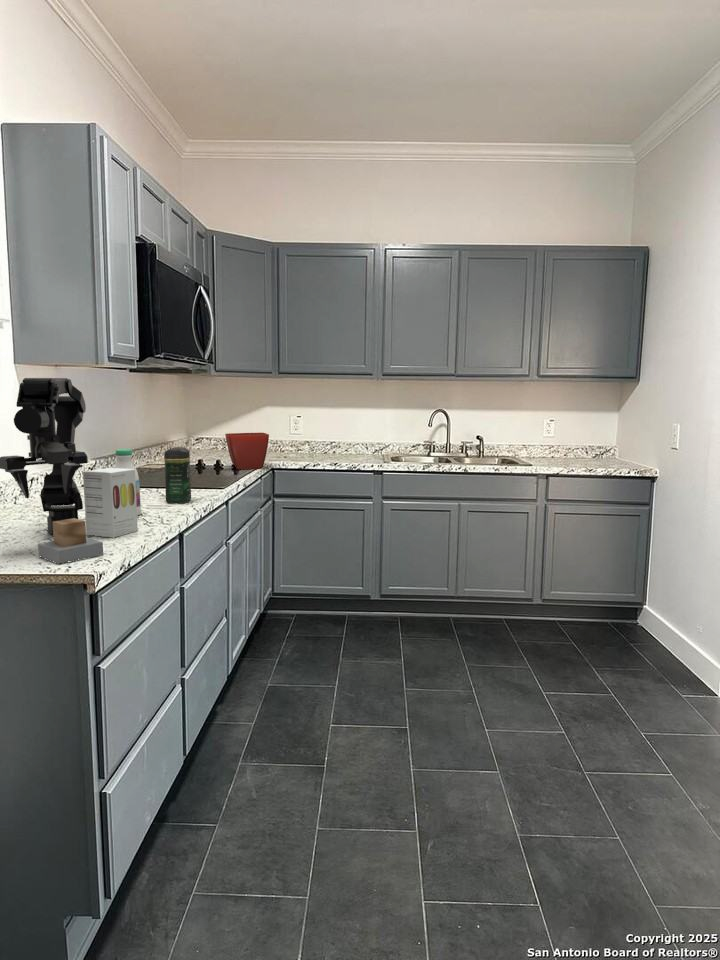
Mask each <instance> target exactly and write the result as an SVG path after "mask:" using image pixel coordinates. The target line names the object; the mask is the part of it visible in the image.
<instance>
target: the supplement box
mask: <svg viewBox="0 0 720 960" xmlns="http://www.w3.org/2000/svg"><path fill="white" fill-rule="evenodd" d="M82 481H83V497H84V498H83V499H84V514H85V527H86V536H93V535H94V536H96V537H103V538H112V539H113V538H117V537H121V536H125V535H127V534H132V533H136V532H138V531H139V530H138V529H139V527H138V516H137V503H136V482H135V469H122V468H115V467H106V468H100V469H99V468H98V469H92V470H84V471H82ZM94 536H93V537H94Z"/></svg>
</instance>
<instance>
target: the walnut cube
mask: <svg viewBox="0 0 720 960" xmlns="http://www.w3.org/2000/svg"><path fill="white" fill-rule="evenodd" d="M52 523H53V534H52V537H53V541H54V544H57V545H60V546H64V547H66V546H71V545H77V544H82V543H86V537H87V535H86V520H83V519H80V518H78V519H76V518H72V519H66V520H60V521H53V522H52Z"/></svg>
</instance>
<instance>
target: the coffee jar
mask: <svg viewBox="0 0 720 960" xmlns="http://www.w3.org/2000/svg"><path fill="white" fill-rule="evenodd" d="M163 455H164V456H163V459H164V474H165V476H164V478H165V479H164V480H165V481H164V482H165V502H166V503H170V504H173V503H178V504H180V503H181V504H182V502H184V503H183V504H186V503H188V502H190V501H191V500H192V487H191V484H192V483H191V457H190V455H191V454H190V450H189V449H188V448H186V447H182V446H175V447H171V448H169V449H167V450H165V451H164V452H163Z"/></svg>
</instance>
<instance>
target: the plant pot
mask: <svg viewBox="0 0 720 960" xmlns="http://www.w3.org/2000/svg"><path fill="white" fill-rule="evenodd" d="M269 438H270V434H268V433H266V432H235V433H232V432H231V433H229V432H228V433H225V440H226V446H227V450H228V453H229V457H230V460H231V463H232V466H233V465H235V467H236V469H235V470H252V469H253V470H254V469H263V468H264V465H265V461H266V457H267V452H268V446H269V440H270V439H269Z"/></svg>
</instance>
